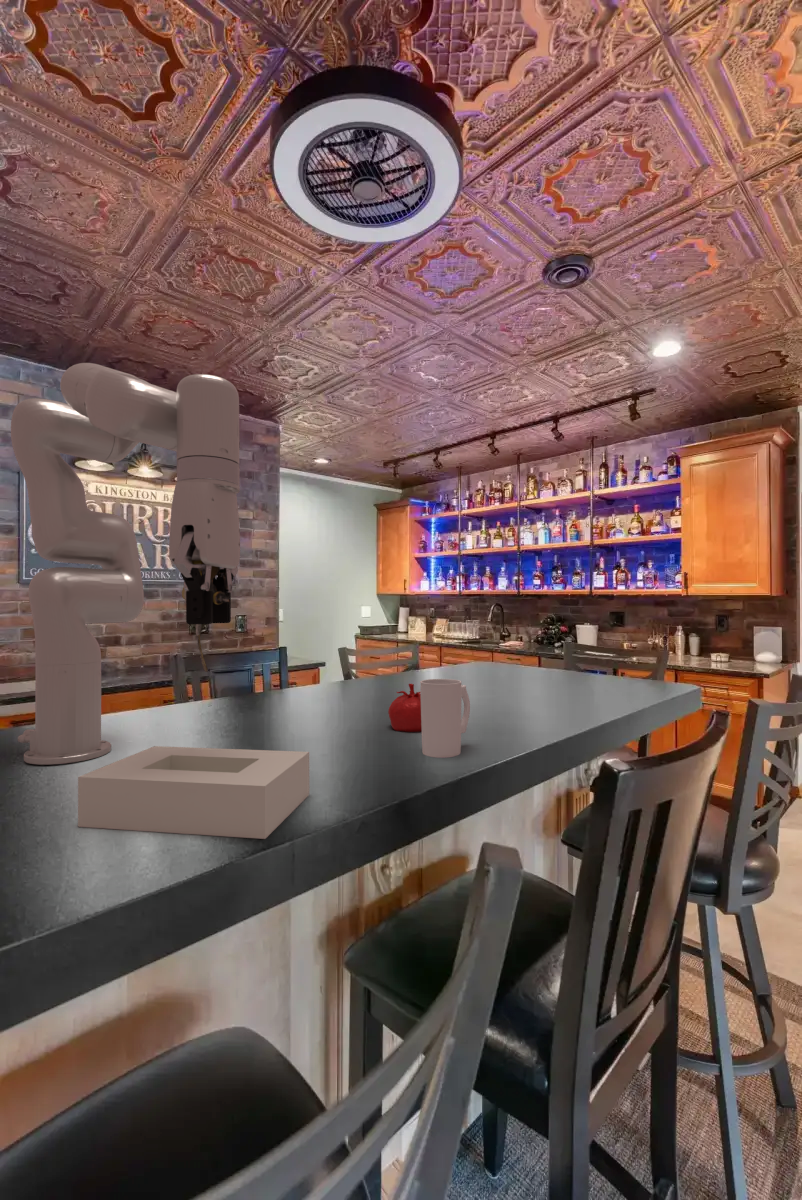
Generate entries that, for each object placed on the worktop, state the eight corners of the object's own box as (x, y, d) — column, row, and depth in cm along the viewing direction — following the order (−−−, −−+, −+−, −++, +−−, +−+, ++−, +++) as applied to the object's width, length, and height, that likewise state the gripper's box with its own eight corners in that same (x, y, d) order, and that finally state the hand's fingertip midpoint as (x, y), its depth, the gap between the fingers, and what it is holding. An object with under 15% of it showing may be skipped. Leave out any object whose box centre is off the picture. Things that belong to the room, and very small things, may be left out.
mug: (440, 762, 86) (439, 685, 86) (412, 754, 92) (411, 681, 92) (484, 751, 93) (483, 679, 93) (455, 744, 98) (455, 676, 98)
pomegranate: (433, 738, 103) (433, 688, 103) (382, 735, 106) (381, 686, 106) (444, 727, 112) (443, 681, 113) (396, 724, 115) (396, 679, 115)
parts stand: (78, 826, 62) (78, 777, 62) (154, 786, 76) (154, 746, 76) (265, 838, 58) (265, 786, 58) (309, 794, 72) (309, 751, 72)
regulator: (175, 672, 70) (173, 553, 70) (200, 668, 73) (198, 554, 73) (220, 676, 66) (218, 550, 66) (243, 672, 70) (241, 552, 70)
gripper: (212, 493, 79) (213, 622, 79) (140, 463, 63) (141, 625, 62) (263, 491, 78) (263, 621, 78) (203, 459, 61) (203, 625, 61)
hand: (209, 622), depth 70 cm, fingers closed on regulator, 4 cm apart
